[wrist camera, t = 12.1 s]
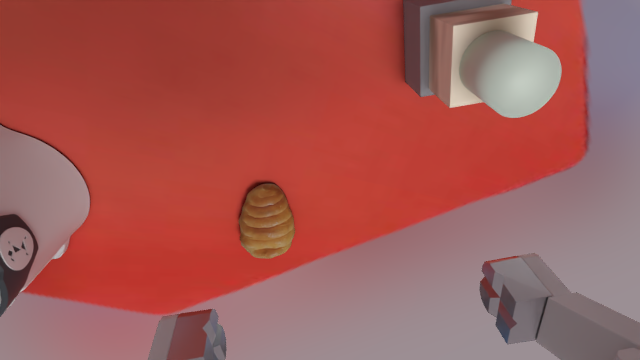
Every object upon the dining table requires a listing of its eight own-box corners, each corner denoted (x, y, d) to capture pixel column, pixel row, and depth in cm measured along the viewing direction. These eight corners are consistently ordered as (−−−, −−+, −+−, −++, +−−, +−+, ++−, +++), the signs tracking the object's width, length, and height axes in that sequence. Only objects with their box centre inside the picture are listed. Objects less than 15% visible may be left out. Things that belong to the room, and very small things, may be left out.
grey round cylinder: (456, 97, 32) (484, 121, 28) (462, 34, 29) (495, 50, 25) (514, 90, 32) (551, 113, 28) (526, 26, 29) (569, 41, 25)
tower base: (405, 81, 41) (420, 96, 37) (402, -1, 37) (420, 6, 33) (478, 68, 41) (502, 82, 37) (484, -15, 37) (512, -10, 33)
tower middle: (428, 88, 37) (449, 107, 32) (429, 15, 33) (453, 26, 29) (495, 77, 37) (525, 94, 32) (503, 3, 33) (538, 11, 29)
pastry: (235, 181, 45) (233, 199, 42) (293, 178, 46) (295, 196, 43) (242, 243, 50) (240, 263, 47) (294, 240, 51) (296, 260, 48)
